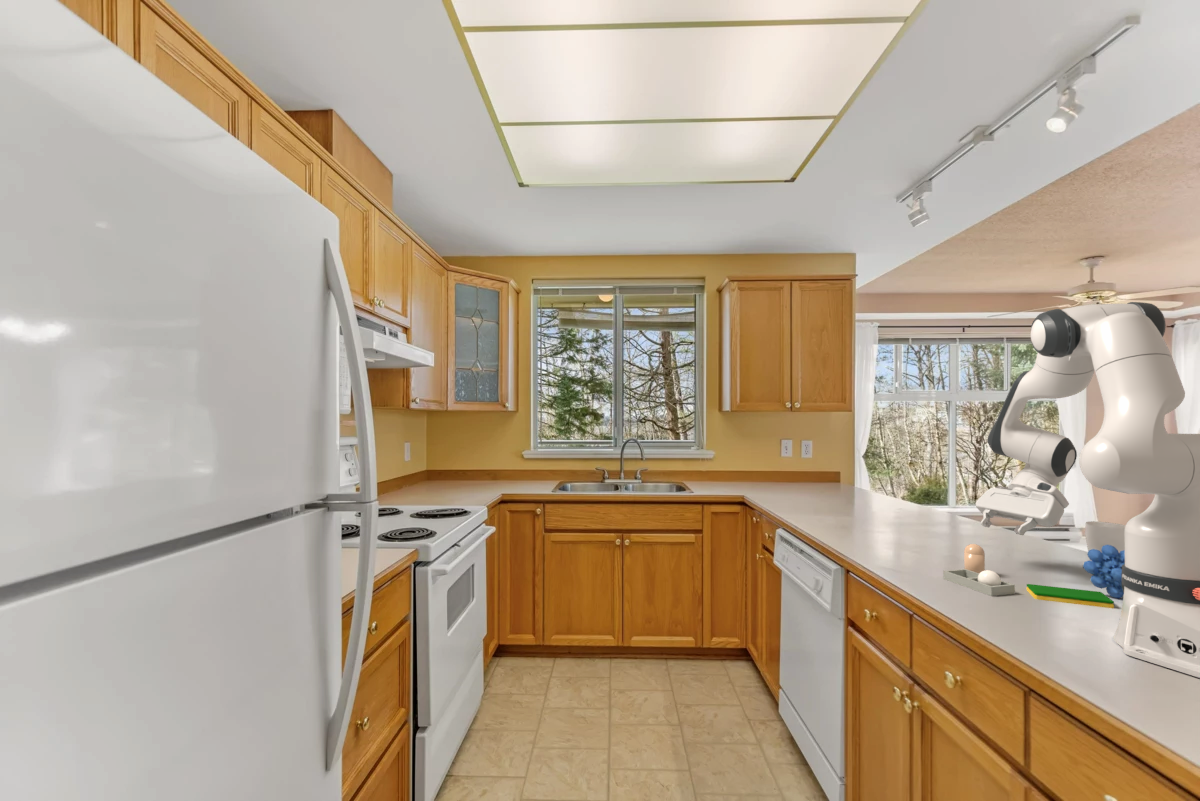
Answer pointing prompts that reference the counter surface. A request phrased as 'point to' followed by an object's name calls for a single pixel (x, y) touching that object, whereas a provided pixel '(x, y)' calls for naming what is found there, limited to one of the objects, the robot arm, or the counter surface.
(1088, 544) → the cup
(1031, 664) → the counter surface
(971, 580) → the carton
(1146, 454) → the robot arm
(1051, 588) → the dish sponge
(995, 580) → the white egg
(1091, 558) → the grapes
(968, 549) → the tan rounded cylinder
